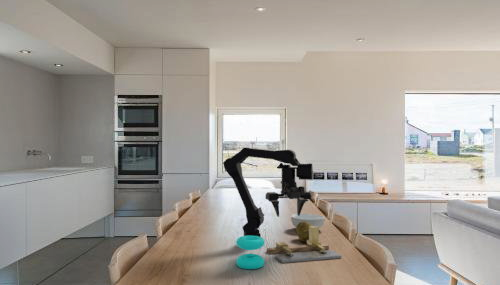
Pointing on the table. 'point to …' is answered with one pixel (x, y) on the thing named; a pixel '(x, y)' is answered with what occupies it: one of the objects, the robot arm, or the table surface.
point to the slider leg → (314, 238)
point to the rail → (292, 248)
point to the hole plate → (307, 256)
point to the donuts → (250, 259)
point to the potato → (303, 231)
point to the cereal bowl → (308, 219)
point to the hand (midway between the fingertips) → (288, 216)
